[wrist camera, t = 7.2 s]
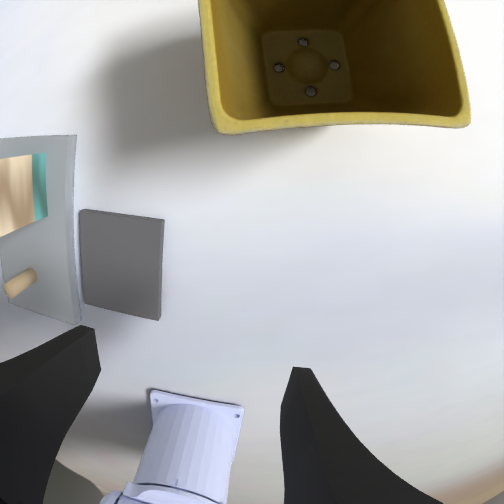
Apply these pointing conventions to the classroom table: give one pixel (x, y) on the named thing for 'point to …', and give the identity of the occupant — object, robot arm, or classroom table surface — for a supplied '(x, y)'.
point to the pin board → (44, 236)
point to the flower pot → (318, 64)
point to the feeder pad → (122, 262)
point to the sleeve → (22, 191)
